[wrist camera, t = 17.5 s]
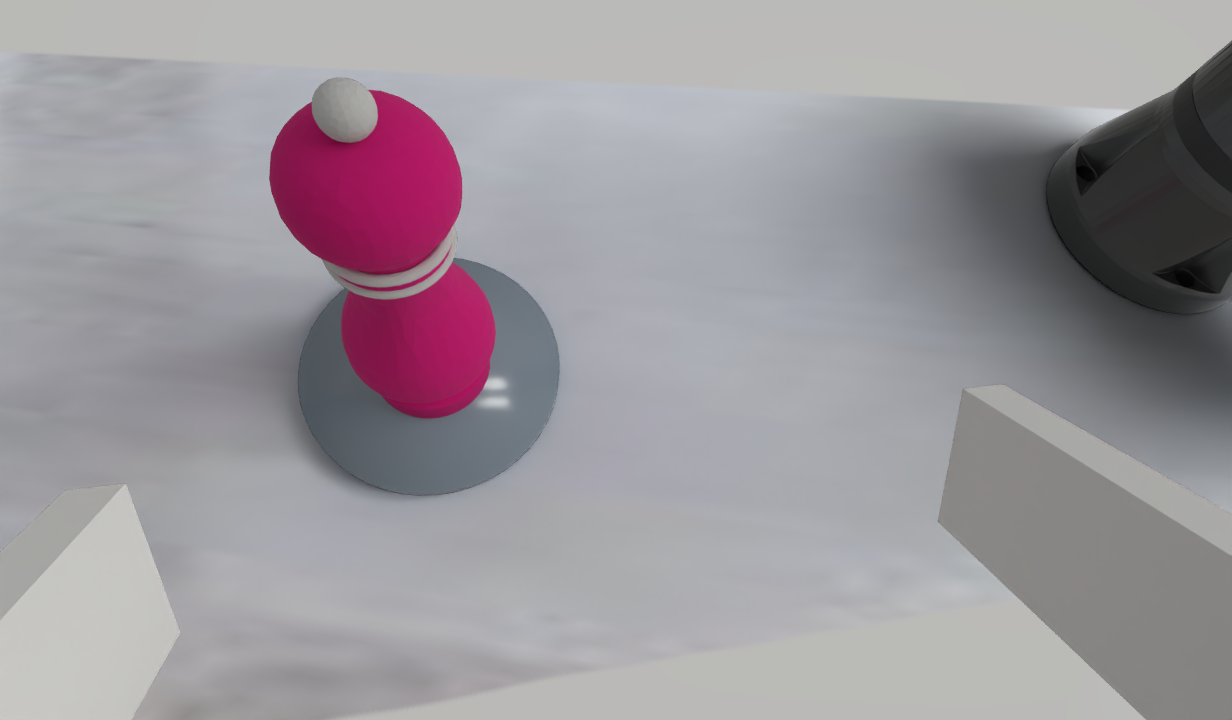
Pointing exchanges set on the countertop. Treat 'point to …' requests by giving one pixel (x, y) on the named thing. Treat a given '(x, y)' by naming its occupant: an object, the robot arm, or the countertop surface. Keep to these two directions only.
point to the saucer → (449, 445)
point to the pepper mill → (387, 243)
